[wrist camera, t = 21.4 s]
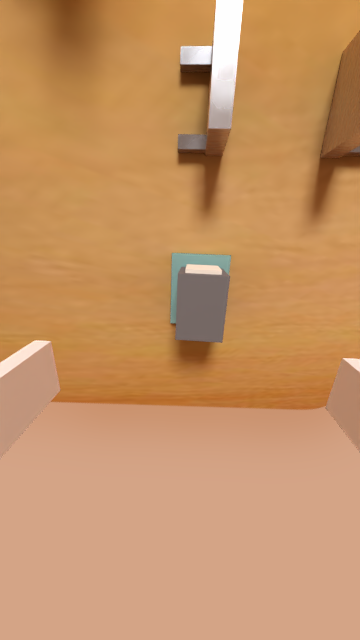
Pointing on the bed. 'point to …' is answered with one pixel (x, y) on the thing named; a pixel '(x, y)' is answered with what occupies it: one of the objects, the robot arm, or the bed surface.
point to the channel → (221, 61)
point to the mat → (195, 259)
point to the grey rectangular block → (201, 303)
